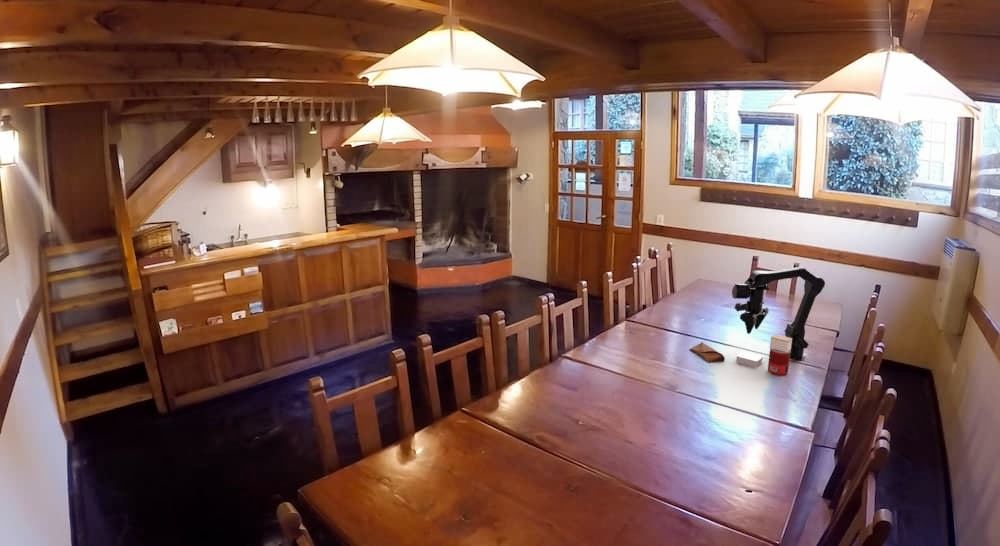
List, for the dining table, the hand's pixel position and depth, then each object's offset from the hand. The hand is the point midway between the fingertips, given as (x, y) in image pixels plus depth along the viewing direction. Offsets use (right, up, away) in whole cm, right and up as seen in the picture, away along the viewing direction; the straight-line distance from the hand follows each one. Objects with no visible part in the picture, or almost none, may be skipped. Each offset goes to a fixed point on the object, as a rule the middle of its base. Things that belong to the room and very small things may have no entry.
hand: (752, 331), depth 272 cm
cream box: (+5, -6, -17) cm, 19 cm away
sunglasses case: (-20, -12, +4) cm, 24 cm away
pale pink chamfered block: (-3, -14, -4) cm, 15 cm away
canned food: (+5, -17, -15) cm, 23 cm away
